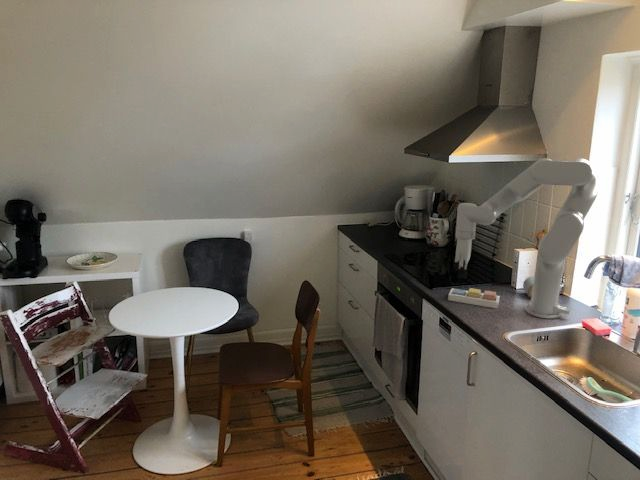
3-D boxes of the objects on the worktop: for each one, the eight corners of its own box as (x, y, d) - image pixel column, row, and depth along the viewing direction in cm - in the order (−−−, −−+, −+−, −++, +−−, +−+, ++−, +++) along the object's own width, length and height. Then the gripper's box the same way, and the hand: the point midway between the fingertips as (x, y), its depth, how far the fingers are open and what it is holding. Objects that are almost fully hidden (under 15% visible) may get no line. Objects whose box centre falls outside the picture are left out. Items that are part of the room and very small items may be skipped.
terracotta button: (495, 299, 205) (496, 292, 205) (494, 302, 202) (495, 295, 201) (484, 297, 207) (485, 290, 206) (482, 300, 203) (483, 293, 202)
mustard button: (480, 296, 208) (480, 289, 207) (478, 300, 204) (479, 293, 203) (469, 294, 209) (469, 288, 209) (467, 298, 206) (468, 291, 205)
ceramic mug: (526, 299, 210) (529, 281, 208) (521, 292, 218) (524, 275, 216) (553, 301, 209) (556, 284, 207) (547, 294, 217) (550, 277, 215)
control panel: (499, 301, 207) (499, 296, 206) (497, 308, 200) (498, 302, 199) (451, 293, 214) (451, 288, 214) (447, 300, 207) (448, 294, 206)
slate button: (464, 297, 210) (465, 290, 210) (463, 300, 206) (463, 293, 206) (453, 295, 212) (454, 288, 211) (452, 298, 208) (452, 291, 207)
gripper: (458, 229, 210) (455, 271, 215) (452, 237, 197) (449, 282, 202) (477, 231, 207) (474, 273, 212) (472, 239, 194) (469, 284, 199)
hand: (462, 277), depth 207 cm, fingers closed
